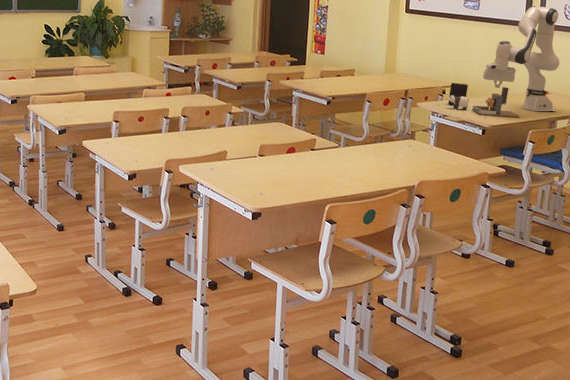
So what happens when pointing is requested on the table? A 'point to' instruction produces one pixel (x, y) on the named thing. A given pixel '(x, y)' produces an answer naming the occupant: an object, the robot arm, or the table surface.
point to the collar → (490, 102)
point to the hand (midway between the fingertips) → (497, 87)
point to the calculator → (458, 91)
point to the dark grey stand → (494, 108)
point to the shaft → (504, 94)
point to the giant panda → (459, 102)
